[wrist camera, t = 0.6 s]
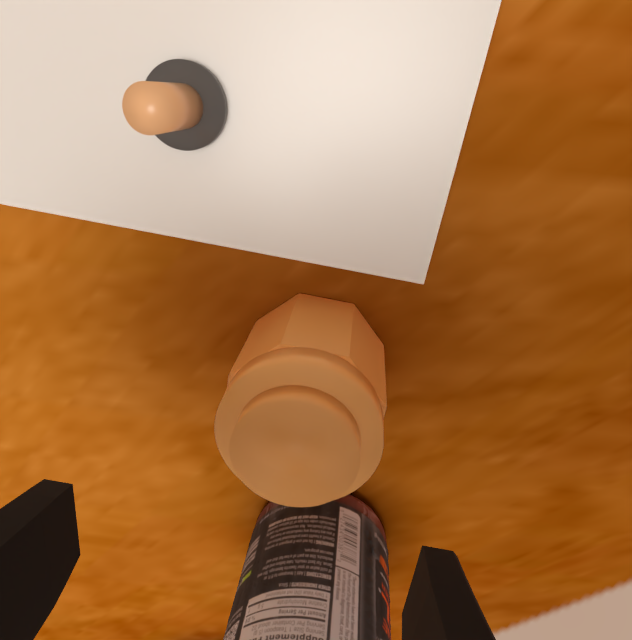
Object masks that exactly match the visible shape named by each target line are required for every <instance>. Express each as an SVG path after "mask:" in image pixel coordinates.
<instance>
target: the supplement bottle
mask: <svg viewBox="0 0 632 640" xmlns="http://www.w3.org/2000/svg"><path fill="white" fill-rule="evenodd" d="M388 576H389V566H388V549H387V544H386V536H385V532H384V529H383V526H382V524H381V522H380V520H379V518H378V517H377V516H376V514H375V513H374V511H373V509H371V508H370V507H369V506H367V505H366V504H365V503H364V502H362V501H361V500H360V499H357V498H356V497H354V496H352V495H350V494H348V495H346V496H344V497H341V498H339V499H336V500H332V501H330V502H328V503H325V504H322V505H318V506H313V507H290V506H284V505H280V504H276V503H274V502H270V503H269V504H268V505H266V506H265V508H264V509H263V511H262V512H261V514H260V515H259V517H258V520H257V523H256V525H255V528H254V530H253V534H252V537H251V540H250V543H249V548H248V551H247V555H246V559H245V563H244V566H243V569H242V573H241V577H240V580H239V585H238V587H237V592H236V595H235V599H234V602H233V606H232V610H231V613H230V617H229V620H228V625H227V628H226V632H225V636H224V639H223V640H391V626H390V597H389V577H388Z"/></svg>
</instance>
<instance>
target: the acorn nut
mask: <svg viewBox="0 0 632 640" xmlns="http://www.w3.org/2000/svg"><path fill="white" fill-rule="evenodd" d="M386 408H387V396H386V375H385V354H384V345H383V343H382V342H381V341H380V339H379V338H378V336H377V335H376V334H375V332H374V331H373V329H372V328H371V327H370V325H369V324H368V323H367V321H366V320H365V318H364V317H363V316H362V314H361V313H360V311H359V310H358V309H357V307H356V306H355V305H354V304H353V303H348V302H343V301H338V300H332V299H327V298H322V297H317V296H312V295H306V294H301V293H299V294H297V295H296V296H294V297H292V298H291V299H289V300H288V301H286V302H285V303H283V304H282V305H280V306H278V307H277V308H275V309H274V310H272V311H271V312H269V313H268V314H266V315H265V316H263V317H261V318H260V319H258V320H257V321H256V322H255V324H254V326H253V328H252V330H251V332H250V334H249V336H248V338H247V340H246V342H245V344H244V346H243V348H242V350H241V352H240V354H239V356H238V358H237V360H236V362H235V363H234V365H233V367H232V369H231V371H230V373H229V375H228V384H227V390H226V392H225V394H224V396H223V398H222V400H221V402H220V404H219V407H218V409H217V412H216V417H215V426H214V432H215V439H216V443H217V446H218V449H219V452H220V454H221V456H222V458H223V460H224V461H225V463H226V464H227V466H228V467H229V468H230V470H231V471H232V472H233V473H234V474H235V475H236V476H237V477H238V478H239V479H240V480H241V481H242V482H243V483H244V484H245V485H246V486H247V487H248V488H249V489H250V490H252V491H253V492H254V493H256V494H257V495H259V496H260V497H262V498H264V499H266V500H268V501H271V502H274V503H276V504H280V505H284V506H290V507H313V506H318V505H322V504H325V503H328V502H330V501H332V500H336V499H339V498H341V497H344V496H346V495H348V494H350V493H352V492H354V491H355V490H357V489H358V488H359V487H361V486H362V485H363V484H364V483H365V482H366V481H367V480H368V479H369V478H370V477H371V476H372V474H373V473H374V472H375V470H376V468H377V466H378V464H379V462H380V459H381V457H382V452H383V447H384V428H383V420H384V416H385V412H386Z"/></svg>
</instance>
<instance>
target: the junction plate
mask: <svg viewBox="0 0 632 640" xmlns="http://www.w3.org/2000/svg"><path fill="white" fill-rule="evenodd" d="M500 4H501V0H0V204H4V205H9V206H14V207H19V208H25V209H30V210H35V211H40V212H46V213H51V214H56V215H62V216H67V217H72V218H77V219H83V220H88V221H93V222H98V223H104V224H109V225H114V226H119V227H125V228H130V229H135V230H140V231H146V232H151V233H156V234H161V235H167V236H172V237H177V238H182V239H188V240H193V241H198V242H203V243H209V244H214V245H219V246H224V247H230V248H235V249H240V250H245V251H251V252H256V253H261V254H266V255H272V256H277V257H282V258H287V259H293V260H298V261H303V262H309V263H314V264H319V265H324V266H330V267H335V268H340V269H345V270H351V271H356V272H361V273H366V274H372V275H377V276H382V277H387V278H393V279H398V280H403V281H408V282H414V283H419V284H424V282H425V278H426V274H427V271H428V267H429V263H430V260H431V256H432V252H433V249H434V245H435V241H436V238H437V234H438V230H439V227H440V223H441V219H442V216H443V212H444V208H445V205H446V201H447V198H448V194H449V190H450V187H451V183H452V179H453V176H454V172H455V168H456V165H457V161H458V157H459V154H460V150H461V146H462V143H463V139H464V135H465V132H466V128H467V124H468V121H469V117H470V113H471V110H472V106H473V103H474V99H475V95H476V92H477V88H478V84H479V81H480V77H481V73H482V70H483V66H484V62H485V59H486V55H487V51H488V48H489V44H490V40H491V37H492V33H493V29H494V26H495V22H496V18H497V15H498V11H499V8H500Z"/></svg>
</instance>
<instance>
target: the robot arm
mask: <svg viewBox="0 0 632 640" xmlns="http://www.w3.org/2000/svg"><path fill="white" fill-rule="evenodd" d="M79 556H80V548H79V539H78V529H77V520H76V511H75V502H74V493H73V484H68V483H63V482H57V481H51V480H46V479H44V480H42V481H41V482H39V483H38V484H36V485H35V486H33V487H32V488H30V489H29V490H27V491H26V492H24V493H23V494H21V495H20V496H19V497H17V498H16V499H14V500H13V501H11V502H10V503H8V504H7V505H5V506H4V507H2V508H1V509H0V640H33V639H34V638H35V636H36V635H37V633H38V631H39V630H40V628H41V627H42V625H43V624H44V622H45V620H46V619H47V617H48V616H49V614H50V612H51V611H52V609H53V608H54V606H55V604H56V602H57V600H58V598H59V596H60V594H61V593H62V591H63V589H64V587H65V585H66V583H67V581H68V579H69V577H70V575H71V573H72V571H73V569H74V566H75V564H76V562H77V560H78V558H79ZM402 640H496V639H495V637H494V635H493V633H492V631H491V629H490V627H489V625H488V623H487V621H486V619H485V617H484V615H483V613H482V611H481V609H480V606H479V604H478V602H477V600H476V598H475V596H474V594H473V591H472V589H471V587H470V585H469V583H468V580H467V578H466V576H465V574H464V571H463V569H462V567H461V564H460V562H459V560H458V557H457V556H456V554H455V553H454V552H453V551H450V550H444V549H438V548H432V547H427V546H422V548H421V552H420V555H419V558H418V562H417V565H416V569H415V572H414V575H413V579H412V582H411V585H410V589H409V592H408V596H407V599H406V602H405V606H404V609H403V612H402Z"/></svg>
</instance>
